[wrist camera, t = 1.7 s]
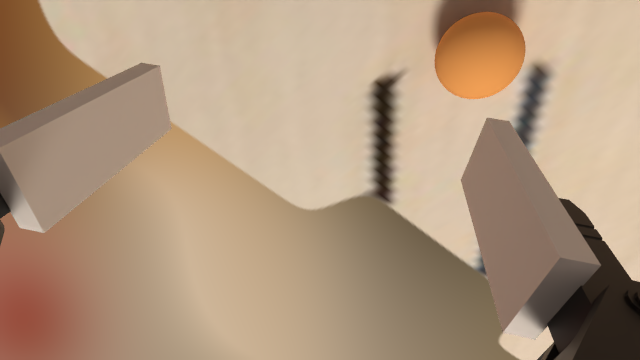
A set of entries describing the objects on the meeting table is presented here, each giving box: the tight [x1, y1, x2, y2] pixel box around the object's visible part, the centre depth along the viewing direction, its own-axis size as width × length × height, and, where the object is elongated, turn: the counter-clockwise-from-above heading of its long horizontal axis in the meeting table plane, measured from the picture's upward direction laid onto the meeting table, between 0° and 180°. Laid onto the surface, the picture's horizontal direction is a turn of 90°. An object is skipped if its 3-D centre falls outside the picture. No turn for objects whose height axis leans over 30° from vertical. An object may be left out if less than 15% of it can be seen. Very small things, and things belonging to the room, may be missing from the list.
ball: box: [435, 12, 525, 99], centre depth 25 cm, size 6×6×6 cm
